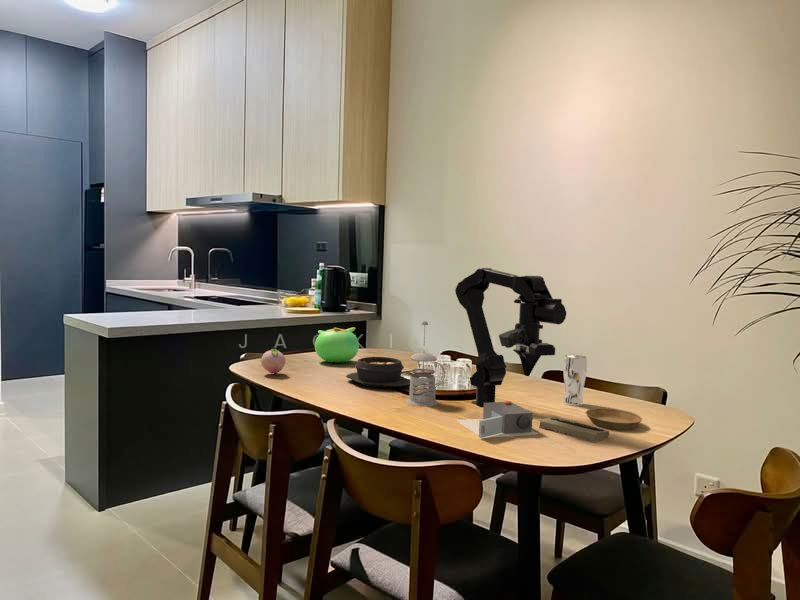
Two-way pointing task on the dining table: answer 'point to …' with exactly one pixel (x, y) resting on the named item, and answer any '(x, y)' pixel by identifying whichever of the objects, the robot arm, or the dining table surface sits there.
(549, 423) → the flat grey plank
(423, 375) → the french press
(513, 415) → the camera body
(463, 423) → the mat
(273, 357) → the decorative fruit
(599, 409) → the plant saucer
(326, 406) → the dining table surface
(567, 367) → the beer glass
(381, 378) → the casserole
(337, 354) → the green persimmon
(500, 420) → the side door
